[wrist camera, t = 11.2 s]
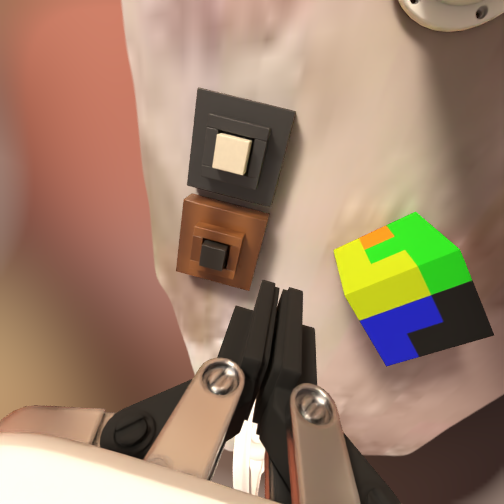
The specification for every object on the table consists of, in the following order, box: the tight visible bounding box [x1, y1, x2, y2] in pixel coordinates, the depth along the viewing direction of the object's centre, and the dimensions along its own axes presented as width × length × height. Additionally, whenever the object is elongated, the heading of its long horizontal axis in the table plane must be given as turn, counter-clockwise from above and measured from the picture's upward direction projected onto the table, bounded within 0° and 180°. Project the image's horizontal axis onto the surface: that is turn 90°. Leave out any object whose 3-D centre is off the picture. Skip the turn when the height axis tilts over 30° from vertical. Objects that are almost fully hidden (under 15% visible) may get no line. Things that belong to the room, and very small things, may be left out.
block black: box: [187, 88, 296, 207], centre depth 30 cm, size 10×10×4 cm
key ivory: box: [212, 133, 252, 175], centre depth 28 cm, size 3×3×2 cm
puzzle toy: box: [334, 212, 494, 366], centre depth 31 cm, size 10×10×10 cm
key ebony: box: [199, 240, 229, 271], centre depth 33 cm, size 3×3×2 cm
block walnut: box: [176, 194, 269, 291], centre depth 35 cm, size 10×10×4 cm
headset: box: [233, 399, 265, 496], centre depth 39 cm, size 20×7×18 cm, turn 1°
